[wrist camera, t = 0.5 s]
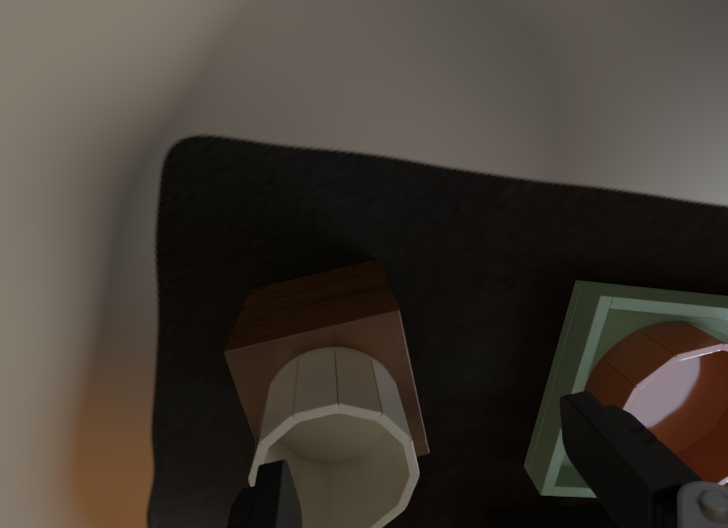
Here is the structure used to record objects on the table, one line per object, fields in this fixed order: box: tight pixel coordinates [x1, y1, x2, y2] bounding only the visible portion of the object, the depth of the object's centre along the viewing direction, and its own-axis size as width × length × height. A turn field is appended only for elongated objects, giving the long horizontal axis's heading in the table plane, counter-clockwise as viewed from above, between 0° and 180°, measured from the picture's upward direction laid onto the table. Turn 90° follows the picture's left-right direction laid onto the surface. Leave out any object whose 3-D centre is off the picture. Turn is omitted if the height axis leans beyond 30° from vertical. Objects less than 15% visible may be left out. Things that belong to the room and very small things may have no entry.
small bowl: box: [248, 347, 420, 528], centre depth 19 cm, size 6×6×4 cm
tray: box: [524, 280, 728, 498], centre depth 31 cm, size 16×15×3 cm
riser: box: [224, 260, 429, 457], centre depth 25 cm, size 8×8×8 cm
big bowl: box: [584, 321, 728, 485], centre depth 30 cm, size 11×11×4 cm
